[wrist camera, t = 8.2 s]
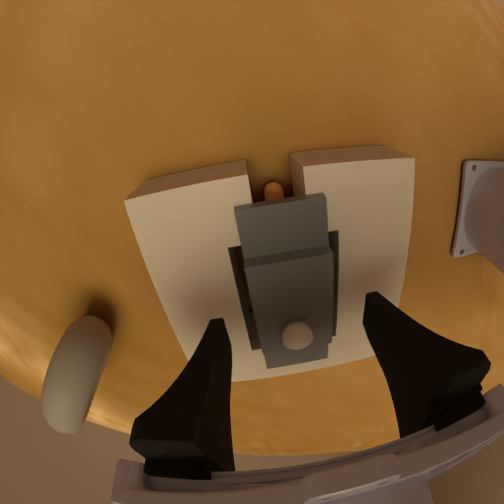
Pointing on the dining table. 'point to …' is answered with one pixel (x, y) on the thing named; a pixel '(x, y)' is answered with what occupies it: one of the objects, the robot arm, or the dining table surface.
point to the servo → (289, 274)
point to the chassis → (227, 237)
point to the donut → (75, 373)
